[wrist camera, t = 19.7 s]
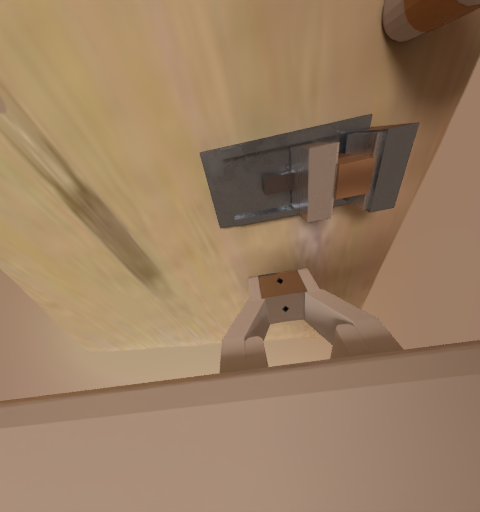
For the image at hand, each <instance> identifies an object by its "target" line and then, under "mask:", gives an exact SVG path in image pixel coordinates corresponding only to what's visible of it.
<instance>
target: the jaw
mask: <svg viewBox="0 0 480 512" xmlns="http://www.w3.org/2000/svg"><path fill="white" fill-rule="evenodd" d="M339 143H340V142H310V143H305V144H301V145H296V146H292V147H290V154H291V170H290V171H286V172H281V173H276V174H271V175H266V176H262V185H263V193H264V194H265V196H266V195H271V194H275V193H280V192H285V191H290V190H292V206H293V207H294V208H295V210H296V211H297V212H298V213H299V214H300V215H301V216H302V217H303V218H304V219H305V220H306V222H307V223H308V222H313V221H318V220H324V219H329V218H330V217H331V215H332V212H333V202H334V192H335V183H336V173H337V163H338V153H339Z"/></svg>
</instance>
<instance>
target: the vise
mask: <svg viewBox="0 0 480 512" xmlns="http://www.w3.org/2000/svg"><path fill="white" fill-rule="evenodd" d="M371 119H372V114H369V115H364V116H359V117H355V118H351V119H346V120H342V121H337V122H333V123H328V124H324V125H320V126H315V127H311V128H306V129H302V130H298V131H293V132H289V133H284V134H280V135H275V136H271V137H267V138H262V139H258V140H253V141H249V142H244V143H240V144H236V145H231V146H227V147H222V148H218V149H213V150H209V151H205V152H201V153H200V156H201V160H202V164H203V167H204V171H205V175H206V178H207V182H208V186H209V189H210V193H211V197H212V200H213V204H214V208H215V211H216V215H217V219H218V222H219V226H220V228H224V227H229V226H235V225H236V226H241V225H246V224H251V223H257V222H262V221H267V220H272V219H278V218H283V217H288V216H293V215H299V213H298V212H297V211H296V210H295V208H294V207H293V206H292V190H290V191H285V192H280V193H275V194H271V195H266V196H265V194H264V193H263V185H262V176H266V175H271V174H276V173H281V172H286V171H290V170H291V154H290V147H292V146H296V145H301V144H305V143H310V142H340V143H339V153H338V154H341V153H343V154H353V155H362V156H371V157H376V160H375V165H374V170H373V175H372V180H371V185H370V189H369V193H367V194H362V195H357V196H352V197H347V198H342V199H334V202H333V207H334V206H339V205H344V204H350V203H351V204H352V205H354V206H356V207H358V208H360V209H362V210H367V211H368V212H374V211H380V210H385V209H390V208H394V206H395V203H396V200H397V196H398V193H399V189H400V186H401V183H402V179H403V176H404V173H405V169H406V166H407V162H408V159H409V156H410V152H411V149H412V146H413V142H414V139H415V135H416V132H417V129H418V125H419V122H417V123H407V124H398V125H388V126H378V127H370V125H371Z"/></svg>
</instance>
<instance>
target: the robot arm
mask: <svg viewBox="0 0 480 512" xmlns="http://www.w3.org/2000/svg"><path fill="white" fill-rule="evenodd" d="M248 285H249V294H250V301H247V303H246V304H245V306H244V307H243V309H242V310H241V312H240V313H239V315H238V316H237V318H236V319H235V321H234V322H233V324H232V326H231V327H230V329H229V330H228V332H227V333H226V335H225V336H224V338H223V339H222V346H221V361H220V373H219V374H211V375H204V376H195V377H188V378H180V379H172V380H164V381H156V382H148V383H141V384H133V385H125V386H117V387H109V388H101V389H93V390H85V391H77V392H69V393H61V394H53V395H46V396H38V397H30V398H22V399H13V400H5V401H0V512H480V340H477V341H469V342H461V343H453V344H445V345H438V346H430V347H422V348H414V349H406V350H404V349H403V348H402V347H401V346H400V345H399V343H398V342H397V341H396V340H395V339H394V337H393V336H392V335H391V334H390V332H389V331H388V330H387V329H386V327H385V326H384V325H383V324H382V323H381V321H380V320H379V319H378V318H376V317H374V316H372V315H371V314H369V313H367V312H365V311H363V310H361V309H359V308H358V307H356V306H354V305H352V304H350V303H348V302H346V301H344V300H343V299H341V298H339V297H337V296H335V295H333V294H331V293H330V292H328V291H326V290H324V289H322V290H320V288H319V287H318V285H317V283H316V282H315V280H314V278H313V277H312V275H311V273H310V272H309V270H308V268H301V269H296V270H291V271H285V272H280V273H273V274H266V275H259V276H253V277H248ZM302 319H304V320H305V321H306V322H307V323H308V324H309V325H310V326H312V327H313V328H314V329H315V330H316V331H317V332H318V333H319V334H321V335H322V336H323V337H324V338H325V339H326V340H327V341H328V342H330V343H331V344H332V345H333V347H332V353H331V358H330V359H329V360H320V361H312V362H304V363H297V364H289V365H281V366H274V367H268V363H267V358H266V353H265V348H264V343H263V341H264V339H265V336H266V334H267V331H268V328H269V326H270V324H274V323H279V322H285V321H293V320H302Z"/></svg>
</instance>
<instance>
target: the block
mask: <svg viewBox="0 0 480 512" xmlns="http://www.w3.org/2000/svg"><path fill="white" fill-rule="evenodd" d="M375 160H376V157H371V156H362V155H353V154H343V153H341V154H338V163H337V173H336V183H335V192H334V199H342V198H347V197H352V196H357V195H362V194H367V193H369V189H370V185H371V180H372V175H373V170H374V165H375Z"/></svg>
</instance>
